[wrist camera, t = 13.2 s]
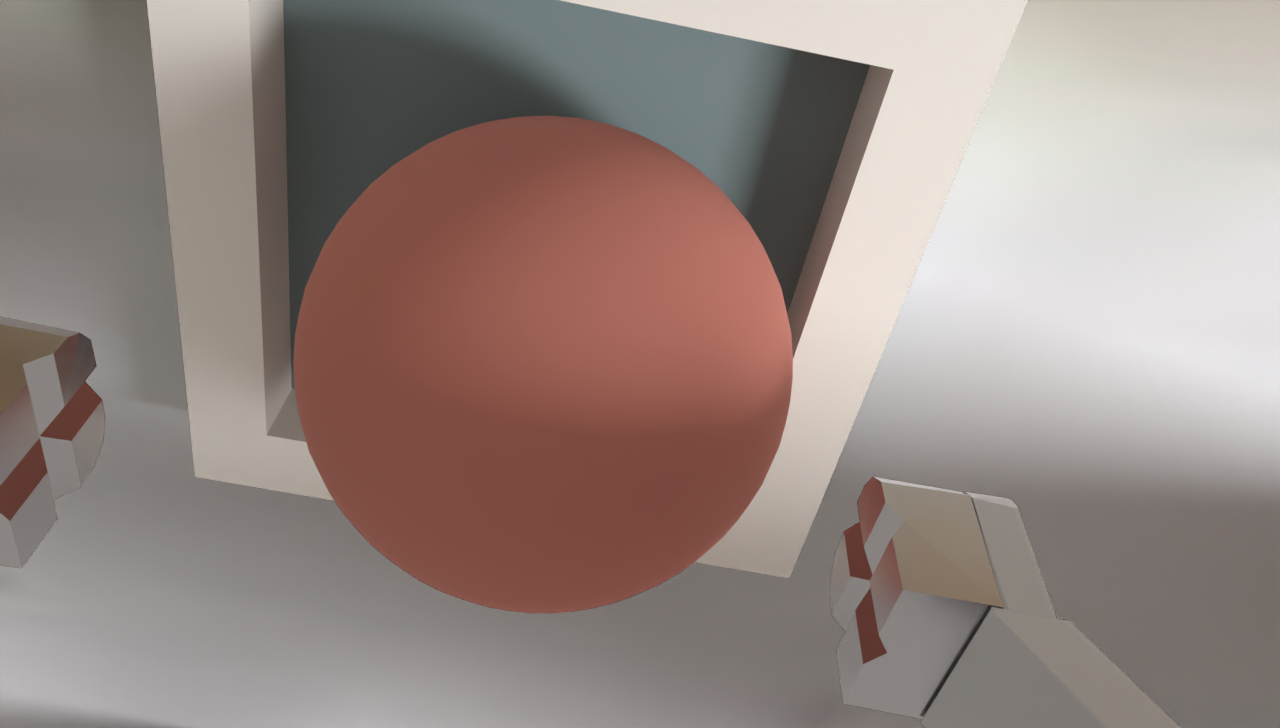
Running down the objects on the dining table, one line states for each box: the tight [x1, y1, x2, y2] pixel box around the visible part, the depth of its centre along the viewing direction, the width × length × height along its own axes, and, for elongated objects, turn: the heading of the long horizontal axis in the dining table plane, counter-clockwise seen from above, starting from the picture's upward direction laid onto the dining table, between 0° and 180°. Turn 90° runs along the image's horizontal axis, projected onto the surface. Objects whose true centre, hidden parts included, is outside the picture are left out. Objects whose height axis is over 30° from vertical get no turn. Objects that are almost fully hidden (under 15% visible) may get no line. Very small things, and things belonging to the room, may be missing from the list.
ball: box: [293, 116, 793, 613], centre depth 13 cm, size 6×6×6 cm
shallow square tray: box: [147, 0, 1028, 579], centre depth 15 cm, size 10×10×2 cm
